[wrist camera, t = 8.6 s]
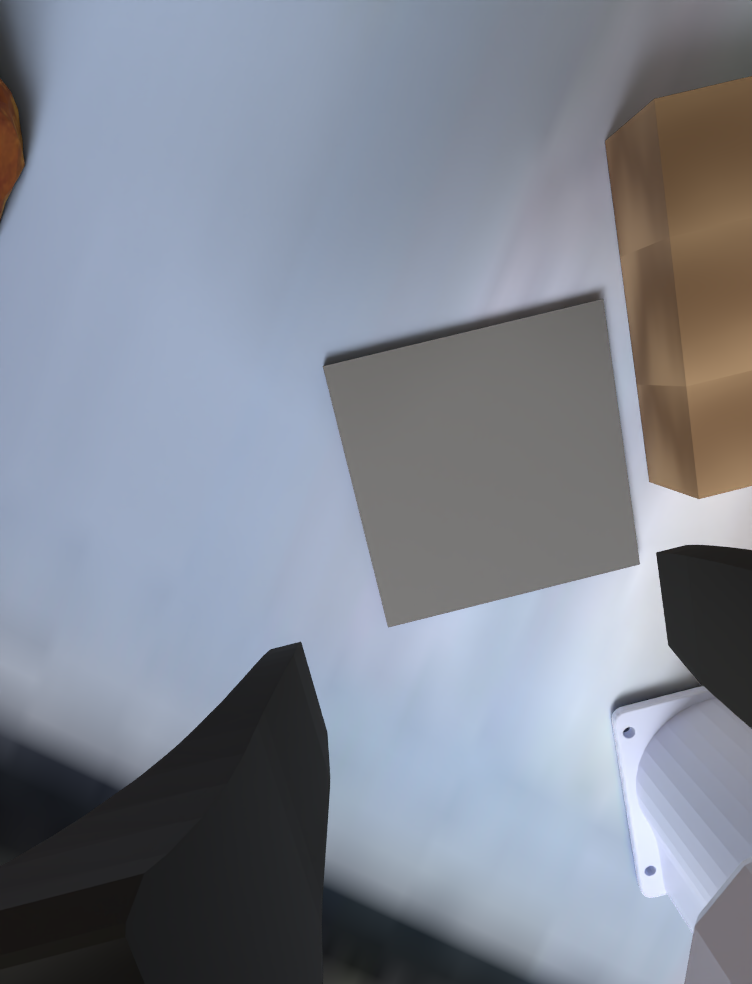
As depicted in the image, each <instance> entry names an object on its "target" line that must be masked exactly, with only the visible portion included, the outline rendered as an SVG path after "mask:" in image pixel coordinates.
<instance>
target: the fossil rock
mask: <svg viewBox="0 0 752 984" xmlns="http://www.w3.org/2000/svg"><path fill="white" fill-rule="evenodd" d="M24 166H25V163H24V157H23V140H22V135H21V129H20V121H19V112H18V108H17V106H16V103H15V101H14V98H13V96H12V93H11V91H10V90H9V88H8V87H7V86H6V85H5V84H4V82H3V81H2V80H1V79H0V220H1V216H2V213H3V210H4V206H5V203H6V201H7V199H8V197H9V195H10V193H11V191H12V188H13V186H14V184H15V182H16V181H17V179H18V177H19V175H20V174H21V172H22V170H23V168H24Z"/></svg>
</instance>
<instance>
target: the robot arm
mask: <svg viewBox="0 0 752 984" xmlns="http://www.w3.org/2000/svg"><path fill="white" fill-rule="evenodd" d="M656 555H657V563H658V570H659V578H660V585H661V593H662V601H663V608H664V616H665V623H666V631H667V639H668V646H669V647H670V648H671V649H672V650H673V652H674V653H675V654H676V655H677V656H678V658H679V659H680V660H681V661H682V663H683V664H684V665H685V666H686V667H687V668H688V670H689V671H690V672H691V673H692V674H693V675H694V676H695V677H696V679H697V680H698V681H699V682H700V683H701V684H702V685H703V686H700V687H696V688H692V689H688V690H684V691H681V692H677V693H673V694H669V695H665V696H661V697H657V698H653V699H649V700H645V701H642V702H638V703H634V704H630V705H626V706H622V707H620V708H617V709H616V710H615V711H614V712H613V714H612V726H613V732H614V739H615V745H616V751H617V757H618V763H619V770H620V776H621V782H622V788H623V795H624V801H625V807H626V813H627V819H628V826H629V832H630V838H631V844H632V850H633V857H634V863H635V869H636V875H637V881H638V886H639V888H640V890H641V892H642V893H643V895H645V896H646V897H649V898H652V897H657V896H661V895H665V894H668V896H669V898H670V899H671V901H672V902H673V904H674V905H675V907H676V909H677V910H678V912H679V913H680V915H681V916H682V918H683V920H684V921H685V923H686V924H687V926H688V927H689V929H690V930H691V932H692V934H693V938H692V943H691V949H690V955H689V960H688V966H687V972H686V977H685V983H684V984H752V550H747V549H739V548H730V547H720V546H709V545H685V546H681V547H677V548H673V549H669V550H665V551H661V552H657V553H656ZM627 727H630V729H629V730H628V731H627V732H623V731H624V730H625V729H626V728H627ZM329 793H330V766H329V750H328V736H327V730H326V726H325V723H324V719H323V716H322V713H321V709H320V706H319V702H318V699H317V695H316V692H315V688H314V685H313V681H312V678H311V674H310V671H309V667H308V664H307V661H306V657H305V654H304V650H303V647H302V643H301V642H298V643H294V644H290V645H286V646H282V647H278V648H274V649H271V650H269V651H268V652H267V653H266V654H265V655H264V656H263V657H262V658H261V659H260V660H259V661H258V662H257V663H256V664H255V666H254V667H253V668H252V669H251V670H250V671H249V672H248V673H247V675H246V676H245V677H244V678H243V679H242V680H241V681H240V682H239V683H238V685H237V686H236V687H235V688H234V689H233V690H232V691H231V692H230V693H229V694H228V696H227V697H226V698H225V699H224V700H223V701H222V702H221V703H220V704H219V705H218V706H217V707H216V708H215V709H214V710H213V711H212V712H211V713H210V714H209V715H208V716H207V717H206V718H205V719H204V720H203V721H202V722H201V723H200V724H199V725H198V726H197V727H196V728H195V729H194V730H193V731H192V732H191V733H190V734H189V735H188V736H187V737H186V738H185V739H184V740H183V741H182V742H180V743H179V744H178V745H177V746H176V747H175V748H174V749H173V750H171V751H170V752H169V753H168V754H167V755H166V756H164V757H163V758H162V759H161V760H159V761H158V762H157V763H156V764H155V765H153V766H152V767H151V768H150V769H149V770H147V771H146V772H145V773H144V774H142V775H141V776H140V777H138V778H137V779H136V780H135V781H133V782H132V783H130V784H129V785H127V786H126V787H125V788H123V789H122V790H120V791H119V792H118V793H116V794H115V795H113V796H112V797H111V798H109V799H108V800H106V801H105V802H103V803H102V804H101V805H99V806H98V807H96V808H95V809H94V810H92V811H91V812H89V813H88V814H87V815H85V816H83V817H82V818H80V819H79V820H77V821H76V822H74V823H73V824H71V825H69V826H68V827H66V828H65V829H63V830H61V831H60V832H58V833H57V834H55V835H53V836H52V837H50V838H49V839H47V840H45V841H43V842H42V843H40V844H38V845H37V846H35V847H33V848H31V849H30V850H28V851H26V852H25V853H23V854H21V855H20V856H18V857H16V858H14V859H12V860H11V861H9V862H7V863H5V864H3V865H2V866H0V984H323V959H322V896H323V882H324V867H325V853H326V839H327V824H328V809H329ZM648 866H649V867H648Z"/></svg>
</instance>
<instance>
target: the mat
mask: <svg viewBox="0 0 752 984" xmlns="http://www.w3.org/2000/svg"><path fill="white" fill-rule="evenodd" d="M323 369H324V373H325V377H326V381H327V385H328V389H329V393H330V397H331V401H332V405H333V409H334V413H335V417H336V421H337V425H338V429H339V433H340V437H341V441H342V445H343V449H344V453H345V457H346V461H347V465H348V469H349V473H350V477H351V481H352V485H353V489H354V493H355V497H356V501H357V505H358V509H359V513H360V517H361V521H362V525H363V529H364V533H365V537H366V541H367V545H368V549H369V553H370V557H371V561H372V565H373V569H374V573H375V577H376V581H377V585H378V589H379V593H380V597H381V601H382V605H383V609H384V613H385V617H386V621H387V625H388V627H392V626H396V625H400V624H404V623H408V622H412V621H416V620H420V619H424V618H428V617H432V616H436V615H440V614H444V613H448V612H452V611H456V610H460V609H464V608H468V607H472V606H476V605H480V604H484V603H488V602H492V601H496V600H500V599H504V598H508V597H512V596H515V595H519V594H523V593H527V592H531V591H535V590H539V589H543V588H547V587H551V586H555V585H559V584H563V583H567V582H571V581H575V580H579V579H583V578H587V577H591V576H595V575H599V574H603V573H607V572H611V571H615V570H619V569H623V568H627V567H631V566H635V565H639V564H640V562H639V554H638V547H637V540H636V533H635V526H634V518H633V511H632V504H631V497H630V490H629V482H628V475H627V468H626V461H625V454H624V446H623V439H622V432H621V425H620V418H619V410H618V403H617V396H616V389H615V382H614V374H613V367H612V360H611V353H610V346H609V338H608V331H607V324H606V317H605V310H604V303H603V299H601V300H596V301H592V302H588V303H584V304H580V305H576V306H571V307H567V308H563V309H559V310H555V311H551V312H547V313H542V314H538V315H534V316H530V317H526V318H522V319H517V320H513V321H509V322H505V323H501V324H497V325H493V326H488V327H484V328H480V329H476V330H472V331H468V332H463V333H459V334H455V335H451V336H447V337H443V338H438V339H434V340H430V341H426V342H422V343H418V344H414V345H409V346H405V347H401V348H397V349H393V350H389V351H384V352H380V353H376V354H372V355H368V356H364V357H360V358H355V359H351V360H347V361H343V362H339V363H335V364H330V365H326V366H323Z"/></svg>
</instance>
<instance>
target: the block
mask: <svg viewBox="0 0 752 984" xmlns="http://www.w3.org/2000/svg"><path fill="white" fill-rule="evenodd" d="M605 145H606V153H607V160H608V168H609V176H610V183H611V191H612V199H613V206H614V214H615V222H616V229H617V237H618V245H619V252H620V260H621V268H622V275H623V283H624V291H625V298H626V306H627V314H628V321H629V329H630V337H631V344H632V352H633V360H634V367H635V375H636V383H637V390H638V398H639V406H640V413H641V421H642V428H643V436H644V444H645V451H646V459H647V467H648V474H649V482H651V483H654V484H657V485H660V486H663V487H666V488H668V489H671V490H674V491H677V492H680V493H683V494H686V495H689V496H692V497H694V498H697V499H701V498H705V497H709V496H713V495H717V494H721V493H725V492H729V491H733V490H737V489H741V488H745V487H749V486H752V76H750V77H745V78H741V79H737V80H733V81H728V82H724V83H720V84H715V85H711V86H707V87H703V88H698V89H694V90H690V91H685V92H681V93H677V94H673V95H668V96H664V97H660V98H655V99H653V100H652V101H651V102H650V103H649V104H648V105H646V106H645V107H644V108H643V109H642V110H641V111H639V112H638V113H637V114H636V115H635V116H634V117H632V118H631V119H630V120H629V121H628V122H627V123H625V124H624V125H623V126H622V127H621V128H620V129H619V130H617V131H616V132H615V133H614V134H613V135H612V136H610V137H609V138H608V139H607V140H606V141H605Z"/></svg>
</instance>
